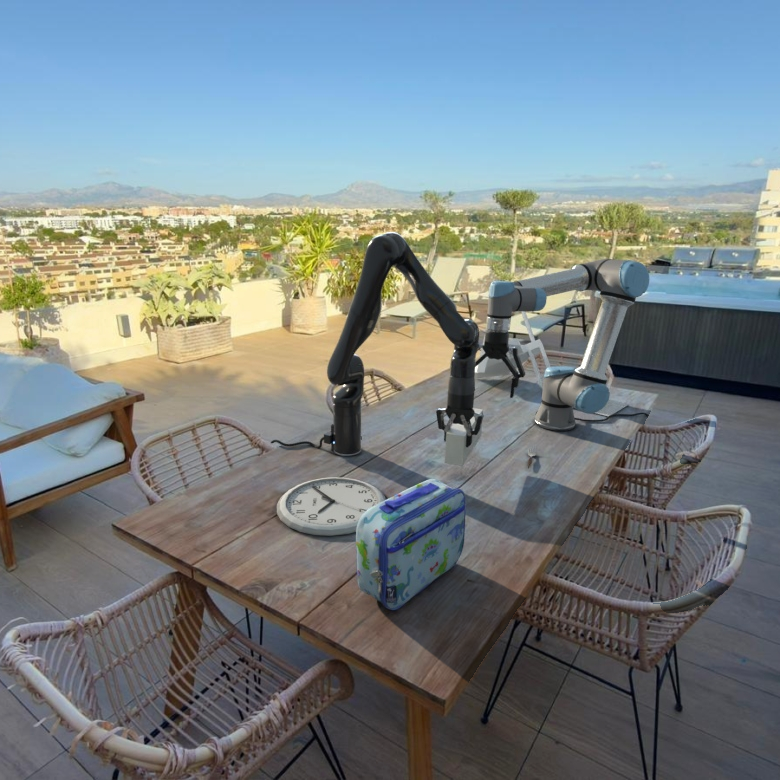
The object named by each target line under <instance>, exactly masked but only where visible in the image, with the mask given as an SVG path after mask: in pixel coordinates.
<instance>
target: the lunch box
mask: <svg viewBox="0 0 780 780" xmlns="http://www.w3.org/2000/svg"><path fill="white" fill-rule="evenodd" d="M465 532H466V495H465V492H464V491H463V490H462V489H461V488H453V487H451V486H449V485H447V484H445V483H443V482H442V481H440V480H437V479H435V478H430V479H426V480H424V481H422V482H420V483H417V484H415V485H413V486H411V487H409V488H407V489H405V490H403V491H401V492H399V493H397V494H395V495H393V496H391V497H389V498H386V500H385V501H383V502H381V503H379V504H377V505H375V506H373V507H371V508H369V509H368V510H366V511H365V512H364V513H363V515H362V516H361V518H360V520H359V522H358V525H357V529H356V532H355V551H356V579H357V580H356V581H357V585H358V588H359V590H360V591H361V592H363V593H365V594H366V595H369V596H371V597H372V598H374V599H375V600H376V601H378V602H380V603H381V604H382V606H383V607H384V608H386V609H388V610H391V611H397V610H399V609H401V608H402V607H403V606H405V604H406V603H407V602H409V601H410V600H412V598H414V597H415V596H417V594H419V593H421V592H422V591H423V590H425V588H426V587H428V586H430V585H431V584H432V583H433V582H434V581H435V580H436V579H438V578H439V577H440V576H442V575H444V574H446V572H448V571H450V570H451V569H452V568H453V567H454V566H455V565H456V564H457V563H458V561H459V559H460V558H461V555H462V552H463V549H464V546H465V545H464V544H465V536H466V535H465V534H466V533H465Z"/></svg>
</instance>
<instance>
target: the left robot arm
mask: <svg viewBox="0 0 780 780" xmlns="http://www.w3.org/2000/svg"><path fill="white" fill-rule="evenodd" d="M392 268H395V269H396V270H397V271H399V272H400V273H401V274H402V275H403V276H404V277H405V279H406V280H407V281H408V283H409V284H410V287H411V288H412V291H413V293H414V295H415V297H416V299H417V301H418V302H419V304H420V305H421V306H422V308H423V309H424V310H425V311H426V312H427V313H428V315H429V316H430V317H431V318H432V319H433V320H434V321H435V322H436V323H437V324H438V326H439V327H440V329H441V330H442V332H443V333H444V335H445V337H446V338H447V339H448V341H449V342H450V343H451V344H452V345H453V353H452V355H451V358H450V363H449V364H450V365H449V378H448V383H447V384H448V385H447V399H446V400H447V403H446V407H445V408H442V407H438V409H436V411H435V414H436V421H437V428H438V429H439V430H442V431H443V432H444V434H443V442H445V443H446V433H447V432H448V431H449V429H450V428H451V427H452V425H453V424H460V425H464V428H465V429H466V432H467V437H466V447H469V446H470V445H471V444H472V435H477V434H478V432H479V430H480V427H481V424H482V425H483V420H484V417H485V415H484V413H483V414H477V413H475V412H474V409H473V408H474V404H475V391H476V378H475V362H476V359H477V358H476V357H477V353H478V351H477V347H478V342H479V343H480V328H479V326H478V323H476V322H475V321H474V320H473V319H468V318H465V319H464V318H463V316H462V315H461V314H460V313H459V311H458V308H457V305H456V304H455V302H454V301H453V300H452V298H450V296H448V295H447V293H445V291H444V290H443V289H442V288H441V287H440V286H439V285H438V284H437V283H436V282H435V281H434V279H433V277H432V276H431V275H430V274H429V273H428V271H427V270H426V269H425V267H424V266H423V265H422V262H420V260H419V259H418V258H417V256H416V254H415V253H414V251H413V250H412V248H411V247H410V245H409V244H408V242H407V241H406V240H405V238H403V236H402V235H400V234H399V233H398V232H393V231H390V232H385V233H382V234H379V235H376V236H374V237H373V238H372V239H371V240H370V241H369V242H368V244H367V247H366V250H365V253H364V259H363V263H362V268H361V272H360V277H359V280H358V283H357V285H356V288H355V291H354V294H353V296H352V300H351V303H350V305H349V308H348V311H347V314H346V318H345V321H344V324H343V327H342V330H341V333H340V335H339V338H338V340H337V344H336V345H335V347H334V350H333V352H332V353H331V356H330V357H329V360H328V363H327V368H326V376H327V379H328V381H329V383H331V384H332V385H334V386H341V387H340V388H339V389H338V390H337V391H336V392H335V393H334V394H333V396H332V417H333V418H332V419H333V420H332V421H333V422H332V423H331V424H330V430H329V431H328V432H325V433H323V436H322V437H321V438H320V440H319V445H316V444H314V443H313V442H311V441H307V440H305V441H298V442H294V443H285V442H282V441H281V440H279V439H272V440H271V441H270V444H274V443H278V444H280V445H282V446H283V447H296V446H299V445H310V446H312V447H313V448H315V449H321V448H322V447H323V443H324V444H327V445H330V447H331V449H330V451H331V452H333V453H334V454H335V455H337V456H340V457H353V456H357V455H359V454H360V453H361V452H362V441H363V440H362V439H363V436H362V398H363V396H364V389H365V387H364V386H365V385H364V384H365V365H364V362H363V360H362V358H361V357H360V356H359V355H357V354H356V352H357V351H358V349H360V347H361V346H362V345H363V344H365V342H366V341H367V340H368V339H369V337H370V336H371V335H372V334H373V332H374V331H375V329H376V328H377V327H376V326H377V324H378V321H379V319H380V316H381V313H382V307H383V300H382V299H383V298H382V291H383V287H384V284H385V282H386V279H387V278H388V275H389V273H390V271H391V269H392ZM445 414H446V416H447V417H448V421H447V423H446V424H445V419H444V416H445ZM472 417H474V418H475V421H476V426H475V429H472V426H471V422H470V419H471V418H472Z"/></svg>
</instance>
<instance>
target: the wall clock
mask: <svg viewBox="0 0 780 780" xmlns="http://www.w3.org/2000/svg"><path fill="white" fill-rule="evenodd" d="M385 500H387V498H386V496H385V494H384V493H383V492H382V491H381V490H380V489H379V488H377V487H376V486H374V485H372V484H371V483H369V482H365V481H362V480H359V479H355V478H349V477H338V476H337V477H335V476H333V477H332V476H331V477H322V478H317V479H312V480H307V481H305V482H302V483H299V484H297V485H295V486H293V487H292V488H290V489H288V490H287V491H286V492H285V493H284V494H283V495H281V496H280V498H279V499H278V502H277V503H276V515H277V517H278V518H279V520H280V521H281V522H282V523H283V524H285V525H286V526H287V527H288V528H290V529H293V530H295V531H297V532H299V533H303V534H308V535H312V536H327V537H328V536H329V537H331V536H332V537H333V536H342V535H350V534H352V533H356V529H357V525H358V522H359V520H360V518H361V516H362V515H363V513H364V512H365V511H366V510H368V509H369V508H371V507H373V506H375V505H377V504H379V503H381V502H383V501H385Z"/></svg>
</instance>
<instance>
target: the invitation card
mask: <svg viewBox="0 0 780 780" xmlns="http://www.w3.org/2000/svg"><path fill="white" fill-rule="evenodd" d="M628 406H629V404H627V403H623V402H618V401H614V400H608V402H607V403H606V405H605V406H604V407H603V408H602V409H601V410H599V411H598V412H596V413H595V414H596V415H600V416H604V417H608V416H610V415H613V414H617V412H619V411H621V410H623V409H624V408H626V407H628Z"/></svg>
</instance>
